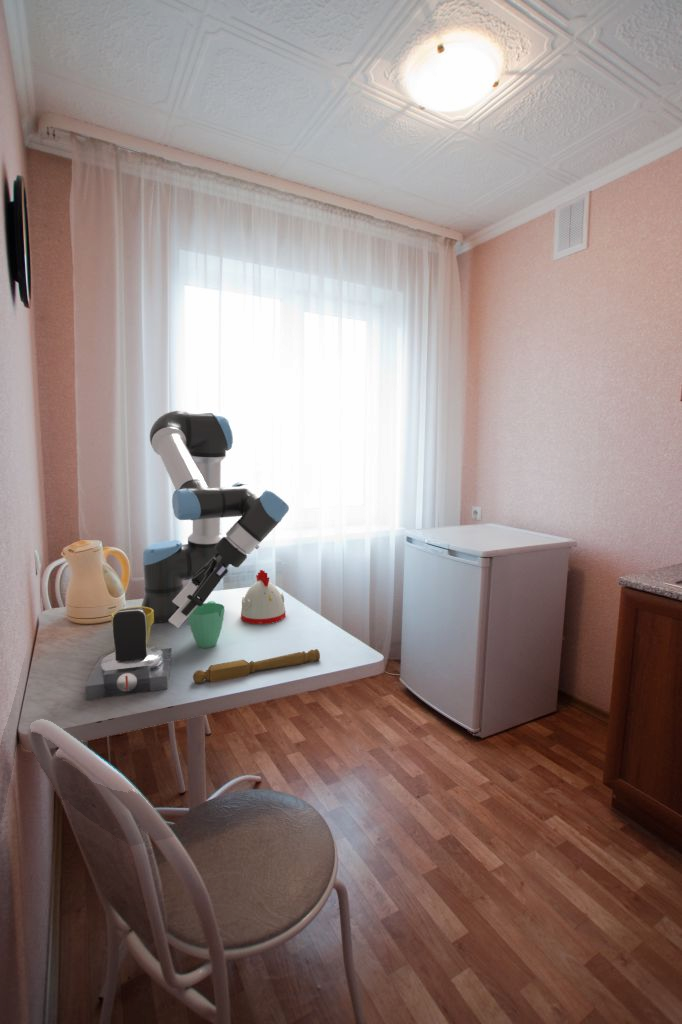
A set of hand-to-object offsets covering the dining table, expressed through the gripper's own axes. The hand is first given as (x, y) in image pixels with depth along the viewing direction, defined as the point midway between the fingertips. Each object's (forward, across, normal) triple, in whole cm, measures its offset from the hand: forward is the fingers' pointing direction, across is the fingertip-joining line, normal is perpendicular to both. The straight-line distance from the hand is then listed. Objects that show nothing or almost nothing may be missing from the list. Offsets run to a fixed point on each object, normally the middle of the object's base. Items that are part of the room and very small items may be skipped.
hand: (174, 613), depth 112 cm
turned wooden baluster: (-2, -6, -23) cm, 24 cm away
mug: (+5, +16, -15) cm, 23 cm away
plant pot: (+18, +17, -1) cm, 25 cm away
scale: (+17, -2, -2) cm, 17 cm away
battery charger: (+14, -1, +1) cm, 14 cm away
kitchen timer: (-6, +32, -28) cm, 43 cm away
